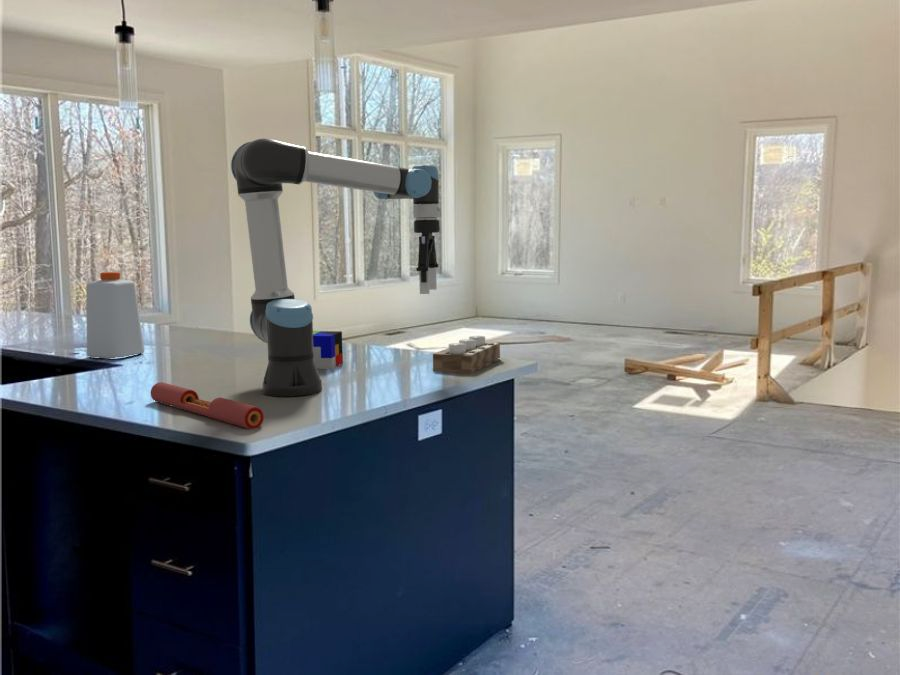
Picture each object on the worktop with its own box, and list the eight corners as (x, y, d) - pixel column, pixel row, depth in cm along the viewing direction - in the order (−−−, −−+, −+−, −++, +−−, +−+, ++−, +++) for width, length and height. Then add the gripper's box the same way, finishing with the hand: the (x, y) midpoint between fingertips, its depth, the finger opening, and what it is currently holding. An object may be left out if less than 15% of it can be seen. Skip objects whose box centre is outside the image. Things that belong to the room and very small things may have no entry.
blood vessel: (150, 403, 202) (149, 383, 202) (169, 400, 206) (168, 380, 205) (244, 432, 174) (243, 409, 173) (264, 427, 177) (263, 405, 177)
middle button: (472, 356, 244) (472, 342, 243) (456, 355, 246) (456, 341, 245) (478, 353, 248) (478, 339, 248) (463, 352, 250) (462, 338, 249)
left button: (461, 360, 236) (461, 346, 236) (446, 359, 238) (445, 345, 238) (468, 357, 241) (468, 343, 240) (452, 357, 243) (452, 342, 242)
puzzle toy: (331, 369, 244) (330, 336, 243) (300, 368, 246) (299, 335, 245) (342, 363, 254) (341, 331, 253) (312, 362, 256) (311, 331, 255)
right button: (481, 352, 251) (481, 338, 250) (466, 351, 253) (466, 337, 252) (487, 349, 255) (487, 336, 255) (472, 348, 257) (472, 335, 257)
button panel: (471, 373, 234) (471, 353, 233) (433, 370, 239) (432, 351, 238) (499, 359, 256) (499, 341, 255) (464, 357, 261) (464, 340, 260)
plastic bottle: (81, 358, 269) (74, 273, 265) (114, 351, 283) (108, 270, 279) (117, 360, 264) (111, 274, 260) (150, 353, 278) (144, 271, 274)
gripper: (432, 219, 227) (434, 295, 230) (445, 218, 251) (446, 287, 254) (406, 219, 228) (408, 295, 231) (421, 219, 252) (422, 287, 255)
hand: (428, 291), depth 242 cm, fingers open, 13 cm apart
